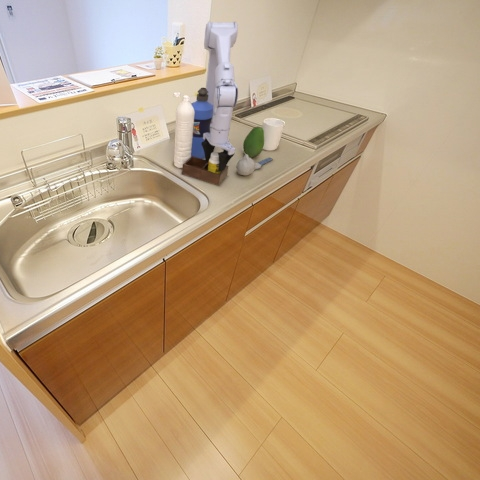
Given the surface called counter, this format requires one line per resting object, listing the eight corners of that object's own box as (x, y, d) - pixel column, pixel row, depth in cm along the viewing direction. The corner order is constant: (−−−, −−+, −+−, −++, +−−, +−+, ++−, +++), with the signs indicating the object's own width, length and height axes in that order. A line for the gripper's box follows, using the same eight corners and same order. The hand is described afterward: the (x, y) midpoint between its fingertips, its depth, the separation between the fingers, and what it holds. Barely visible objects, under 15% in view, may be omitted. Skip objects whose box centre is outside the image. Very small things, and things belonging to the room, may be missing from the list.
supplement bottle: (215, 180, 98) (218, 158, 92) (204, 176, 100) (207, 154, 95) (222, 175, 101) (226, 153, 95) (211, 171, 103) (214, 149, 97)
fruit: (237, 156, 113) (243, 127, 105) (245, 150, 117) (252, 121, 109) (255, 162, 109) (263, 132, 101) (263, 155, 114) (271, 126, 106)
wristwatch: (234, 172, 104) (234, 170, 103) (266, 157, 112) (267, 155, 112) (243, 177, 101) (243, 174, 100) (275, 161, 110) (276, 159, 109)
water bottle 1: (193, 164, 108) (200, 96, 91) (182, 170, 105) (186, 100, 88) (177, 157, 113) (180, 90, 95) (166, 162, 109) (167, 94, 92)
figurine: (257, 177, 101) (262, 157, 95) (240, 179, 100) (244, 159, 94) (248, 168, 105) (253, 148, 100) (232, 170, 104) (236, 151, 99)
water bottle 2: (195, 146, 119) (202, 82, 102) (212, 153, 115) (221, 88, 97) (180, 153, 115) (184, 88, 97) (197, 161, 110) (204, 94, 92)
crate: (182, 174, 103) (182, 164, 100) (191, 165, 108) (192, 155, 105) (218, 185, 97) (220, 175, 94) (226, 175, 102) (228, 165, 99)
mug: (285, 145, 121) (293, 120, 114) (269, 153, 115) (277, 127, 108) (268, 138, 126) (275, 114, 118) (253, 146, 120) (259, 121, 113)
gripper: (245, 132, 85) (237, 171, 95) (216, 117, 94) (211, 154, 104) (228, 137, 83) (221, 177, 92) (199, 121, 92) (196, 159, 101)
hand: (214, 165), depth 98 cm, fingers open, 7 cm apart
